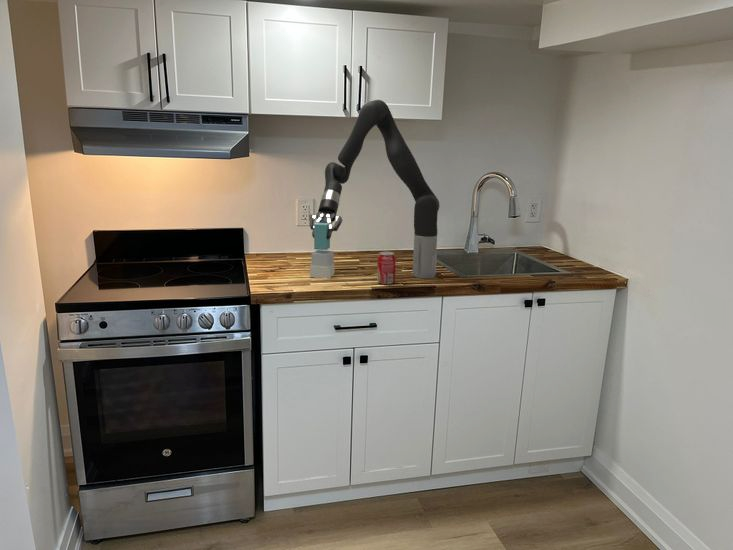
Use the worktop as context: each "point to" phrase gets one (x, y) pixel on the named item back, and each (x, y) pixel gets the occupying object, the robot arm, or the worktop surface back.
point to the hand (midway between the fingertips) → (320, 237)
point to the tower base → (322, 271)
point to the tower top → (322, 258)
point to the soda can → (386, 267)
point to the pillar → (321, 236)
